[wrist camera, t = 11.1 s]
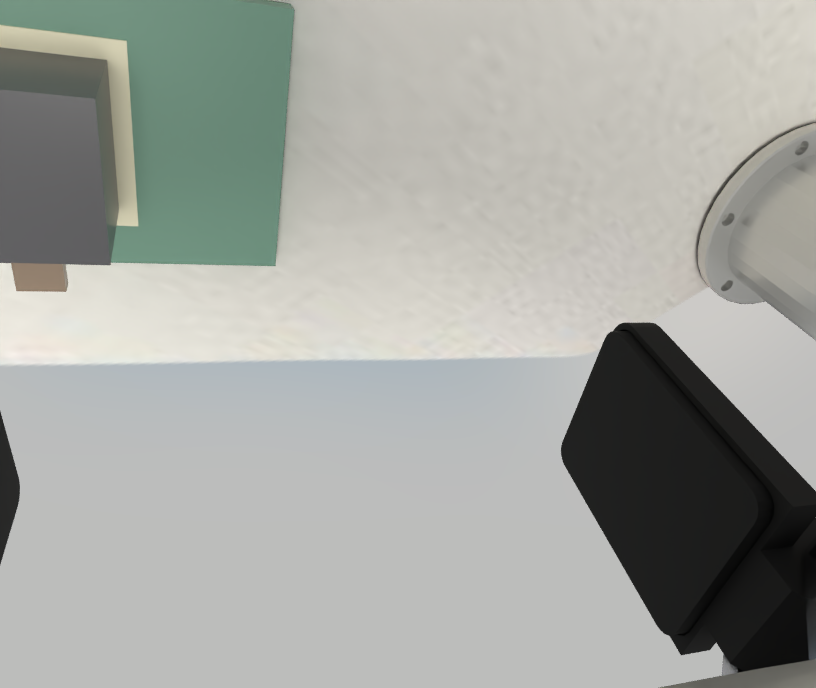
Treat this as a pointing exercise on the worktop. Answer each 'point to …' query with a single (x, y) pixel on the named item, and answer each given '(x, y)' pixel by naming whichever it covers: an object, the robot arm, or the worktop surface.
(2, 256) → the block
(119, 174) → the header board
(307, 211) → the worktop surface
